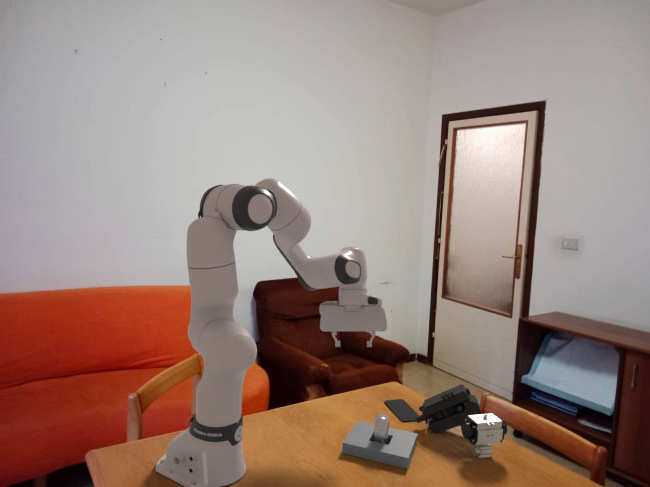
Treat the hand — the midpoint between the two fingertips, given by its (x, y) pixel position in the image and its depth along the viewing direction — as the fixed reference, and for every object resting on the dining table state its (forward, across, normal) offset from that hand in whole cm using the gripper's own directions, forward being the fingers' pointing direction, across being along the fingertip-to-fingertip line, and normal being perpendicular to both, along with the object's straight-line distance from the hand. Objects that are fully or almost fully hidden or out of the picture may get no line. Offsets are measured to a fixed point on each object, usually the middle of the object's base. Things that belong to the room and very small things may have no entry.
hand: (353, 346), depth 143 cm
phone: (+21, +16, +22) cm, 34 cm away
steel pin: (+28, +7, -2) cm, 29 cm away
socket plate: (+28, +7, -2) cm, 29 cm away
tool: (+25, +29, +10) cm, 39 cm away
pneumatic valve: (+30, +35, -2) cm, 46 cm away
